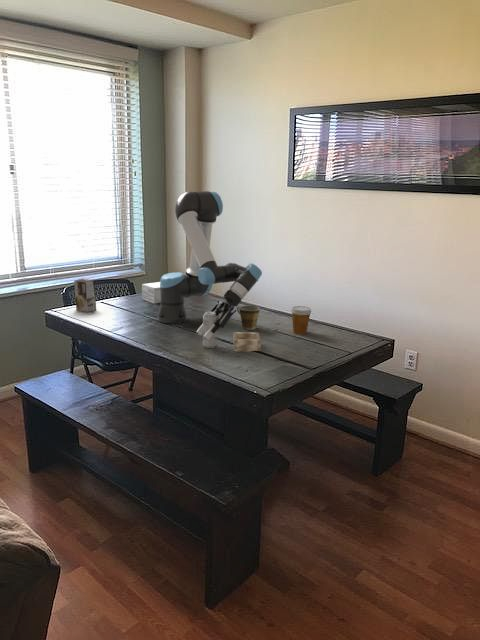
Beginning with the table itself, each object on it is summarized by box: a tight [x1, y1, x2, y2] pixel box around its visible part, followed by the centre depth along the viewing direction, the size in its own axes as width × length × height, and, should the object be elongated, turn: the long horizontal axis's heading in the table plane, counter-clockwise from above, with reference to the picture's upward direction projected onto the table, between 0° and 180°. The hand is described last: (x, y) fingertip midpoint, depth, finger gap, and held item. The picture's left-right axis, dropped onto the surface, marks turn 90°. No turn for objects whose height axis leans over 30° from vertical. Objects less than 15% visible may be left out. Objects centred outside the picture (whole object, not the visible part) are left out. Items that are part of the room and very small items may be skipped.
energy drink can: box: [202, 311, 218, 349], centre depth 228 cm, size 6×6×15 cm
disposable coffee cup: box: [290, 305, 312, 335], centre depth 251 cm, size 10×10×12 cm
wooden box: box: [232, 331, 261, 352], centre depth 229 cm, size 11×11×5 cm
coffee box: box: [73, 278, 97, 313], centre depth 279 cm, size 9×6×16 cm
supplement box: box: [141, 281, 161, 304], centre depth 306 cm, size 17×13×9 cm
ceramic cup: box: [236, 305, 260, 331], centre depth 257 cm, size 13×10×10 cm
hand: (202, 335), depth 226 cm, fingers closed on energy drink can, 6 cm apart
